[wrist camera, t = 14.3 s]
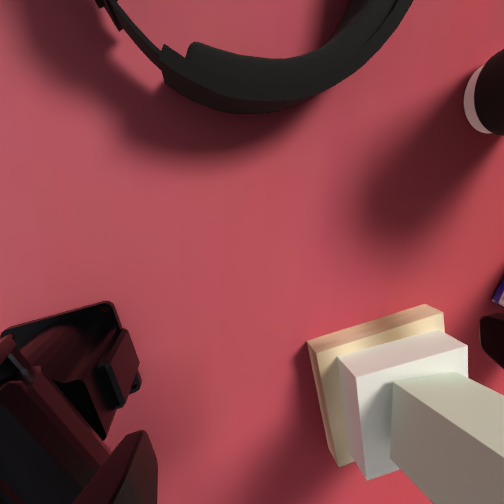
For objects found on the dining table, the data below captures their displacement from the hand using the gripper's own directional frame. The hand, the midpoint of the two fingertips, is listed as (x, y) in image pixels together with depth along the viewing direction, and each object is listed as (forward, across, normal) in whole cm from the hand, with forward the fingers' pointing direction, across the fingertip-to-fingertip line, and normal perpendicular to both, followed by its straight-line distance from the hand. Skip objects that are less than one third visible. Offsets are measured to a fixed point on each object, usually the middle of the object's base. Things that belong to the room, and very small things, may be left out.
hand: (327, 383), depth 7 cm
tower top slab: (+11, -8, +12) cm, 18 cm away
